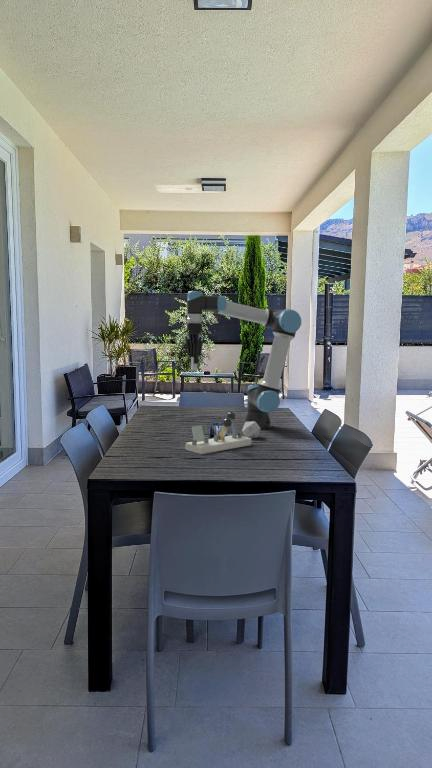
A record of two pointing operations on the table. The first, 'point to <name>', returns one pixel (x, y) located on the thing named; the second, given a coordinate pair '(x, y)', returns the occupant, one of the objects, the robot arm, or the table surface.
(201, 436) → the sage paddle
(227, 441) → the panel
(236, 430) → the grey lever
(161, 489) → the table surface
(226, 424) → the brass lever
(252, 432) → the die
